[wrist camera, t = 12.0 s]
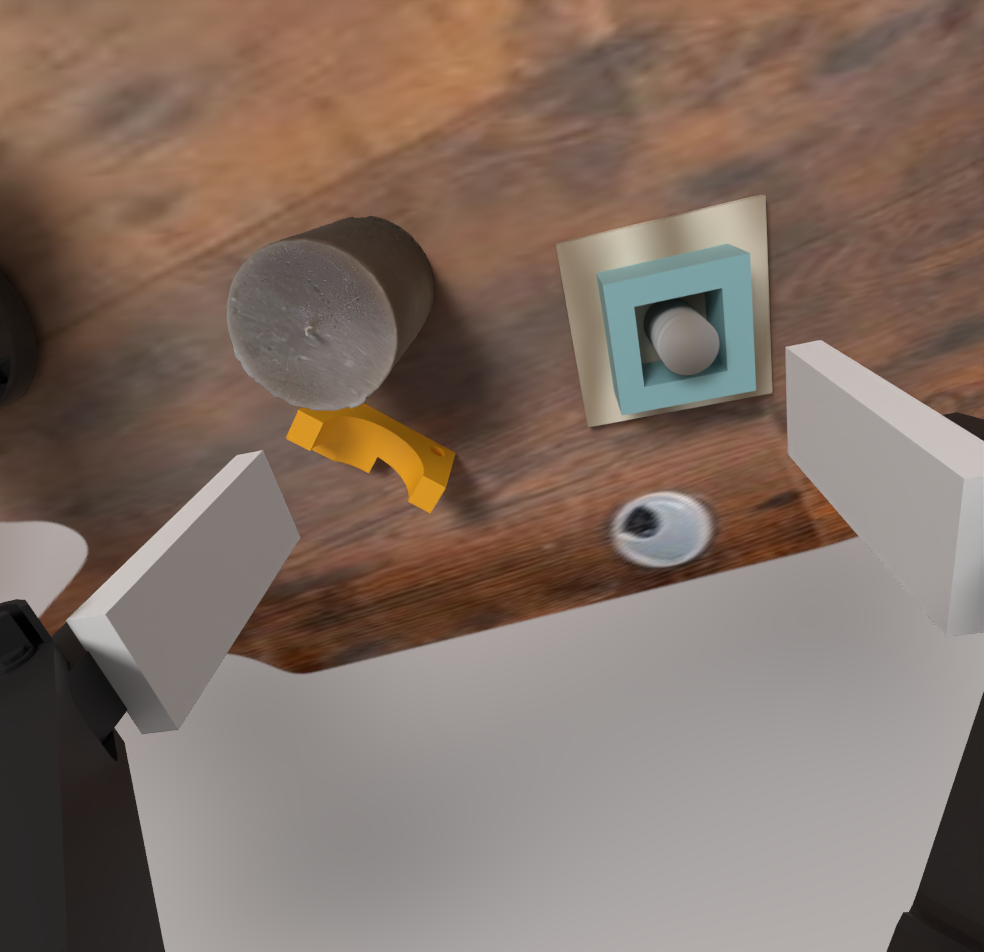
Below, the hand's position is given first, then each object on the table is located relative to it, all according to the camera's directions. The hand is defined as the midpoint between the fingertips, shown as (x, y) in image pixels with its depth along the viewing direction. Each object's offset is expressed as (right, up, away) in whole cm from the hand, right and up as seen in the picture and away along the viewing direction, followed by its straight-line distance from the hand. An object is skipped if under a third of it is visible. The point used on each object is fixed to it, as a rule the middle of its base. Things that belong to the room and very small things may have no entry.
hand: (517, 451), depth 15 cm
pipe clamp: (-10, +3, +37) cm, 38 cm away
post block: (+12, +11, +30) cm, 34 cm away
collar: (+12, +11, +29) cm, 33 cm away
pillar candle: (-10, +14, +31) cm, 35 cm away
